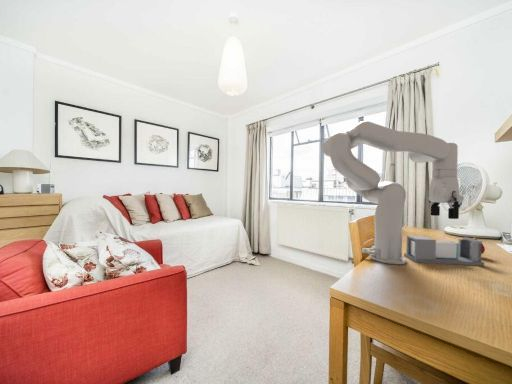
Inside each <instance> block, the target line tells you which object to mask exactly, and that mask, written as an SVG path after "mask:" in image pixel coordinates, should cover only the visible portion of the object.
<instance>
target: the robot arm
mask: <svg viewBox="0 0 512 384" xmlns="http://www.w3.org/2000/svg"><path fill="white" fill-rule="evenodd" d="M361 145H367V146H370V147H373V148H375V149H379V150H381V151H384V152H391V153H396V152H397V153H398V152H401V153H402V152H407V153H408V158H409V159H410V160H411V161H412V162H414V163H416V164H417V163H419V164H423V163H429V162H431V163H432V167H431V168H432V169H431V170H432V171H431V172H432V173H431V175H432V178H431V180H430V184H429V192H428V193H429V194H427V198H428V203H429V206H430V216H431V217H432V216H433V217H434V216H436V217H437V216H440V215H441V213H440V211H441V210H440V209H441V206H440V204H446V203H447V205H448V207H449V208H448V213H447V218H448V219H450V220H458V219H459V217H460V215H459V214H460V211H459V210H460V209H461V206H462V205H463V201H464V199H465V197H464V196H463V195H461V194H460V187H459V180H458V156H459V155H458V154H459V153H458V151H459V150H458V144H457V143H455V142H447V141H445V140H444V139H442V138H439V137H436V136H434V135H430V134H427V133H420V132H414V131H413V132H412V131H403V130H402V131H401V130H400V131H399V130H396V129H393V128H389V127H387V126H383V125H380V124H378V123H375V122H371V121H368V120H367V121H366V120H364V121H359V122H358V123H356V124H355V125H353V126H352V127H350V128H349V129H347V130H345V131H337V132H334V133H333V134H331V135H330V136H329V137H328V138H327V137H326V139H324V141H323V143H322V145H321V151H322V153H323V154H324V155H326V156H327V157H329V158H330V161H331V164H332V166H333V168H334V170H335V171H337V172H338V174H340V175H342V176H343V177H344V178H345V182H346V184H347V186H348V187H349V189H350V190H352V191H353V192H355V193H356V194H357V195H359V196H360V197H362V198H363V199H365V200H367V201H368V202H370V203H373V204H376V208H375V213H374V244H373V245H372V246H371V247H369V248H367V247H362V248H361V253H363V254H367V255H369V257H370V258H371V259H372V260H373V261H376V262H379V263H383V264H389V265H405V264H406V263H407V257H405V256H403V251H402V250H403V213H404V207H405V206H404V205H405V202H406V198H407V192H406V189H405V188H404V186H402V184H401V183H399V182H396V181H395V182H394V181H381V176H380V174H379V173H378V172H377V171H376V170H375V169H373V168H372V167H370V166H368V165H367V164H365V163H364V162H363V161H361V160H359V159H358V158H357V157H356V156H355V155H354V154H353V152H352V150H353V149H355V148H357V147H359V146H361Z"/></svg>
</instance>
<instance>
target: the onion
mask: <svg viewBox="0 0 512 384" xmlns="http://www.w3.org/2000/svg"><path fill="white" fill-rule="evenodd" d="M472 239H475V240H478V239H477V238H476V237H473V238H472ZM485 250H486V248H485V245H484V244H483V243H482V244H481V255H482V254H484V253H485Z"/></svg>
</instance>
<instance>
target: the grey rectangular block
mask: <svg viewBox="0 0 512 384" xmlns="http://www.w3.org/2000/svg"><path fill="white" fill-rule="evenodd" d="M458 243H459V242H458ZM458 243H457V242H455V241H451V240H436V255H435V258H452V259H458V247H459V244H458ZM410 254H411V255H413V256H415V240H411V244H410Z"/></svg>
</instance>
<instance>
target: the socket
mask: <svg viewBox="0 0 512 384" xmlns="http://www.w3.org/2000/svg"><path fill="white" fill-rule="evenodd" d="M458 244H459V247H458V256H460V257H467V258H470V261H476V262H481V261H482V254H481V244H483V241H482V240H478V239H477V240H475V239H473V238H470V237H466V236H465V237H464V236H463V237H462V238H460V239H458Z"/></svg>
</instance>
